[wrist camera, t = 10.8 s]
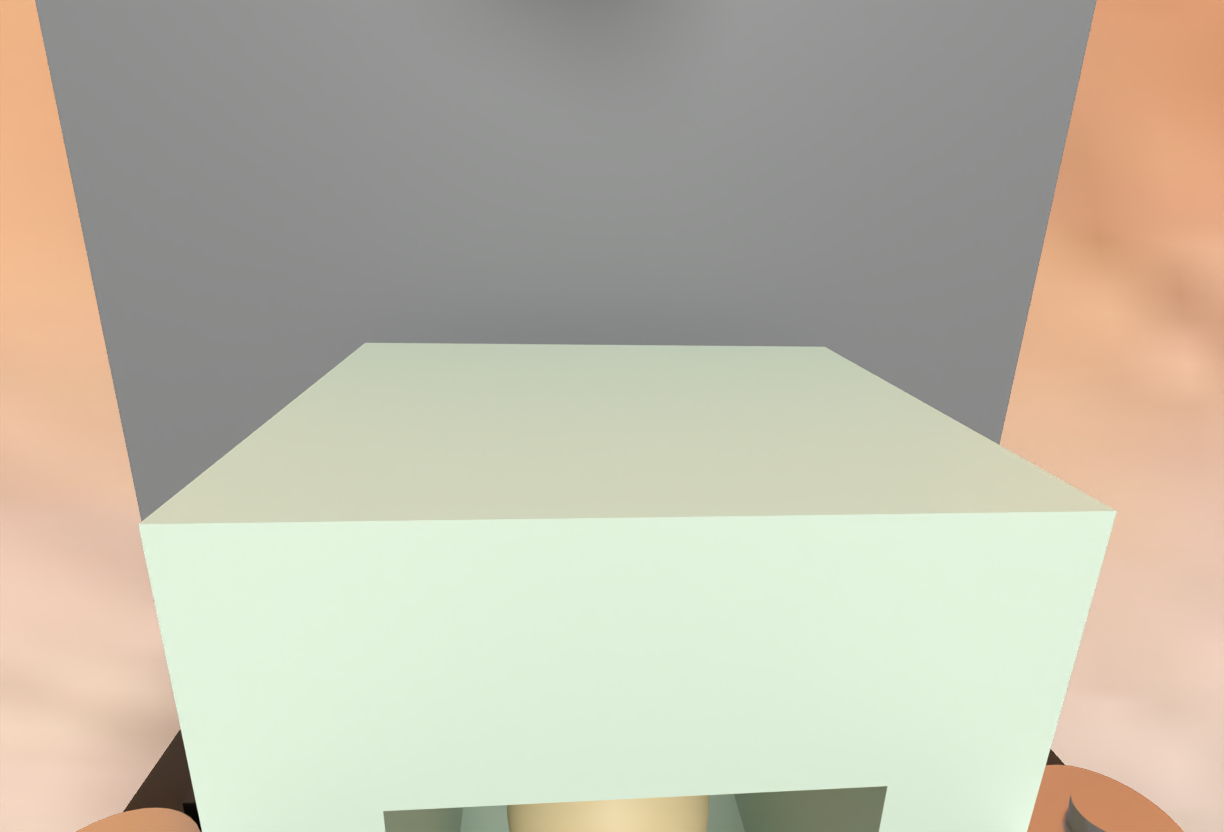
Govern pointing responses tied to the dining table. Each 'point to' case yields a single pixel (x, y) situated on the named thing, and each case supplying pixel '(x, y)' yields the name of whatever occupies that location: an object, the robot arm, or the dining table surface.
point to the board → (554, 198)
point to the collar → (619, 597)
